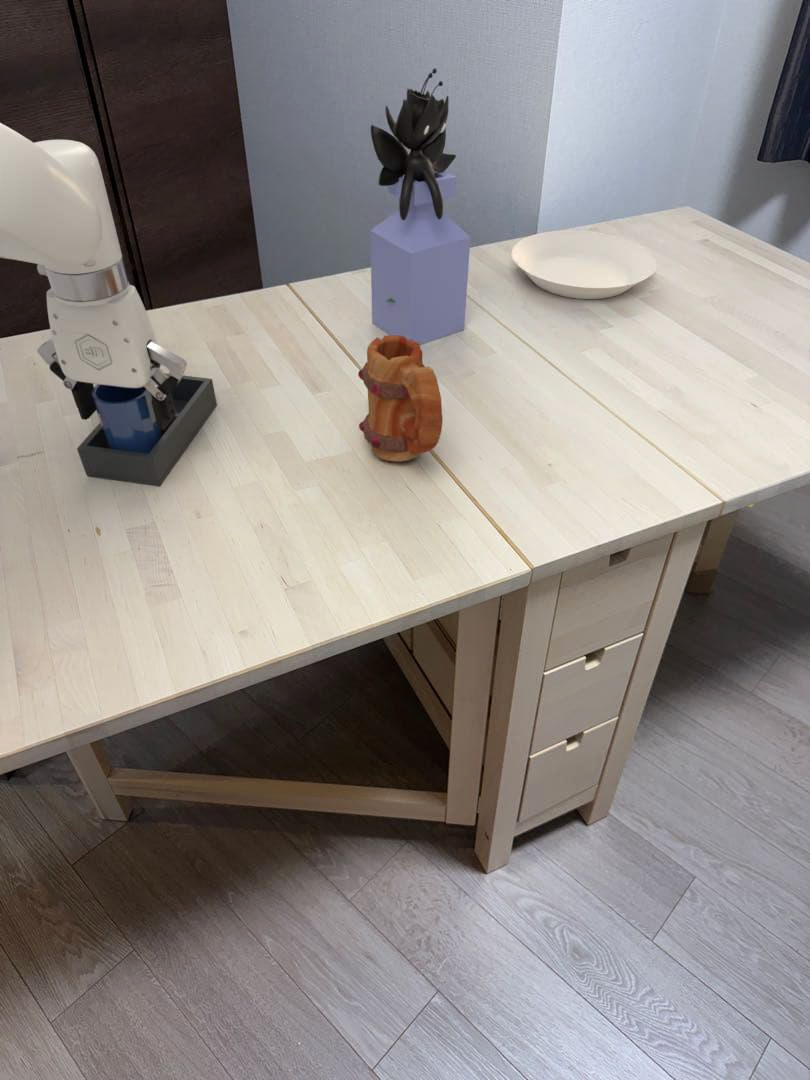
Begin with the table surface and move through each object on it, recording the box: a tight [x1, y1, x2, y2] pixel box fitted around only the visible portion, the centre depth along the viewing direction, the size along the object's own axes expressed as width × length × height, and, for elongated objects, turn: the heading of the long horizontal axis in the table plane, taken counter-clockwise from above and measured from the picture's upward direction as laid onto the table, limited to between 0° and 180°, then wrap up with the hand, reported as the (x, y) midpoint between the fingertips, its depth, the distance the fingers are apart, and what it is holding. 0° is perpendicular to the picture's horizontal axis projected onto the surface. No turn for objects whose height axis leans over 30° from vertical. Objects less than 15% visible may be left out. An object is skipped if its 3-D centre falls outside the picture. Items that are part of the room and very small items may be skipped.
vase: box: [369, 68, 472, 346], centre depth 105 cm, size 14×12×35 cm
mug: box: [357, 334, 443, 462], centre depth 87 cm, size 15×8×15 cm, turn 25°
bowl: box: [511, 229, 658, 300], centre depth 131 cm, size 25×25×4 cm
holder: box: [76, 372, 218, 487], centre depth 94 cm, size 9×18×4 cm, turn 169°
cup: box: [92, 384, 163, 454], centre depth 88 cm, size 6×6×9 cm
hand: (128, 418), depth 88 cm, fingers open, 9 cm apart
